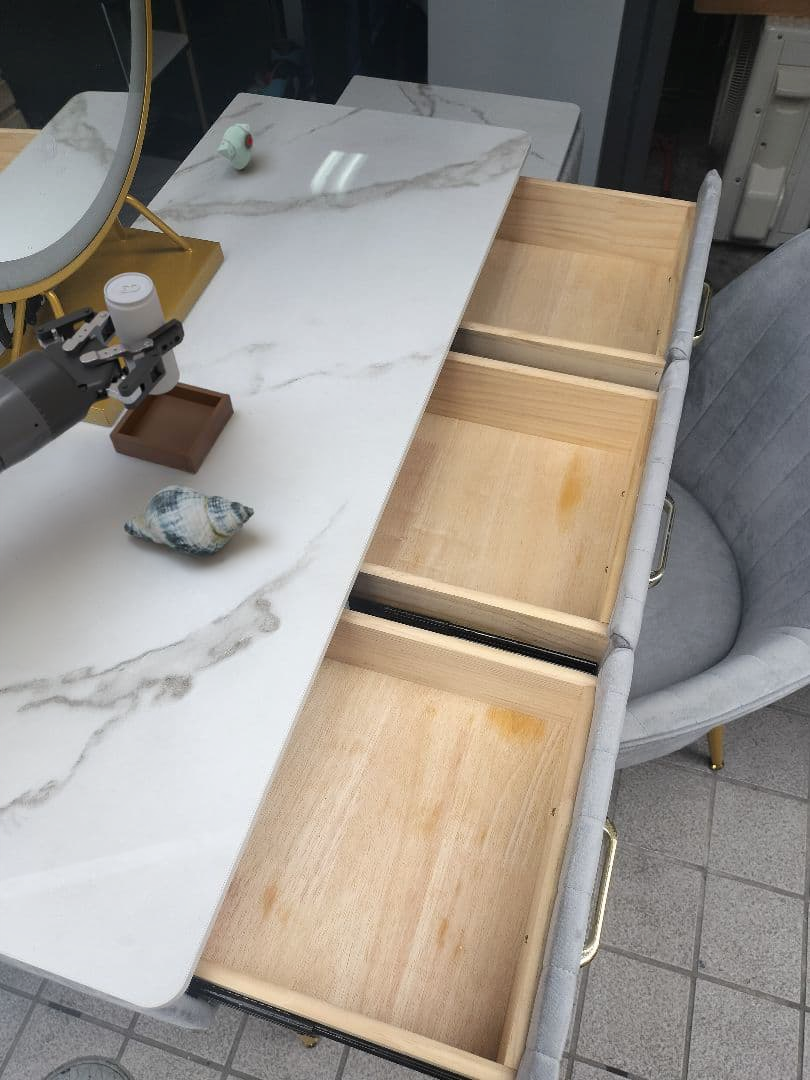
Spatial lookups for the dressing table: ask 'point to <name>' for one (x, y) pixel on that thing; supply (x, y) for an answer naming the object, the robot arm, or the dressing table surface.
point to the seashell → (189, 520)
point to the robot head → (237, 145)
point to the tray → (174, 426)
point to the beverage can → (139, 318)
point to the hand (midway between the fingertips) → (161, 315)
